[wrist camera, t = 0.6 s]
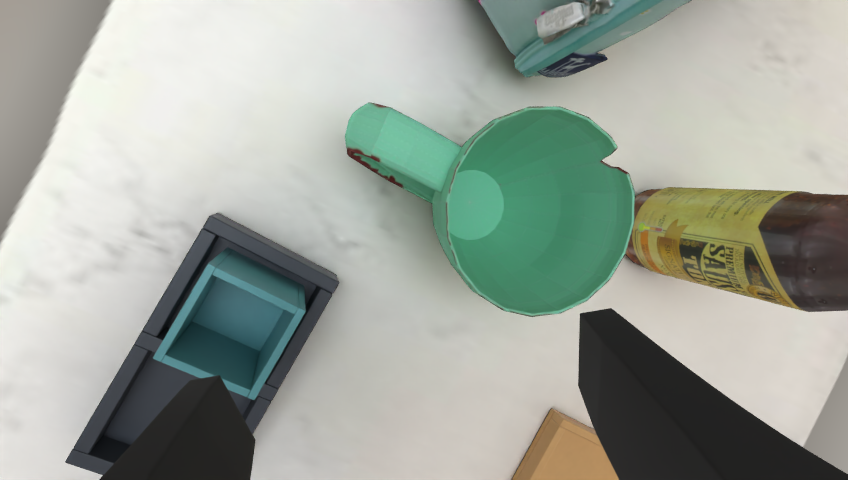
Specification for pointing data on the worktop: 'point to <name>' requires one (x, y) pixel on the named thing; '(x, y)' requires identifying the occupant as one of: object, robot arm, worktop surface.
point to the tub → (234, 323)
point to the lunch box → (569, 30)
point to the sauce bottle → (748, 243)
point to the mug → (512, 200)
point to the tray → (565, 453)
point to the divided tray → (158, 382)
